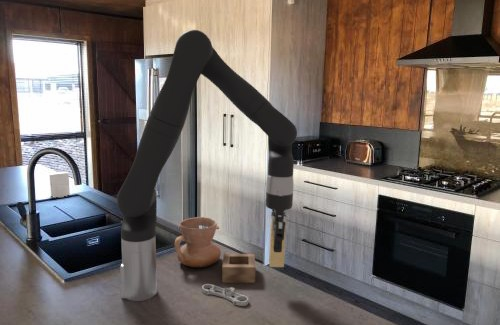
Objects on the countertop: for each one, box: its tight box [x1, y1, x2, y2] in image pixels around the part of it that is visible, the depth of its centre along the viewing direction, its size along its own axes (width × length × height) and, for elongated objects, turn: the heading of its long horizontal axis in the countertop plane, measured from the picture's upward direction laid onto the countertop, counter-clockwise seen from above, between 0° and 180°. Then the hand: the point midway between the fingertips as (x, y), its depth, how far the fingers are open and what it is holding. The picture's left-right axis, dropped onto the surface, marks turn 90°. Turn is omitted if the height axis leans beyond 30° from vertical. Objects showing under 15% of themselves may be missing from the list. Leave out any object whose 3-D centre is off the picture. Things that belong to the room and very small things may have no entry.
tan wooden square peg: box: [268, 216, 287, 268], centre depth 117 cm, size 4×4×14 cm
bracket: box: [201, 283, 249, 307], centre depth 116 cm, size 8×2×15 cm
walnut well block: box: [221, 253, 256, 284], centre depth 129 cm, size 10×10×5 cm
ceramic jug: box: [174, 216, 222, 268], centre depth 137 cm, size 18×14×14 cm
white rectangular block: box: [49, 171, 71, 198], centre depth 216 cm, size 9×9×12 cm
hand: (276, 248), depth 117 cm, fingers closed on tan wooden square peg, 4 cm apart
